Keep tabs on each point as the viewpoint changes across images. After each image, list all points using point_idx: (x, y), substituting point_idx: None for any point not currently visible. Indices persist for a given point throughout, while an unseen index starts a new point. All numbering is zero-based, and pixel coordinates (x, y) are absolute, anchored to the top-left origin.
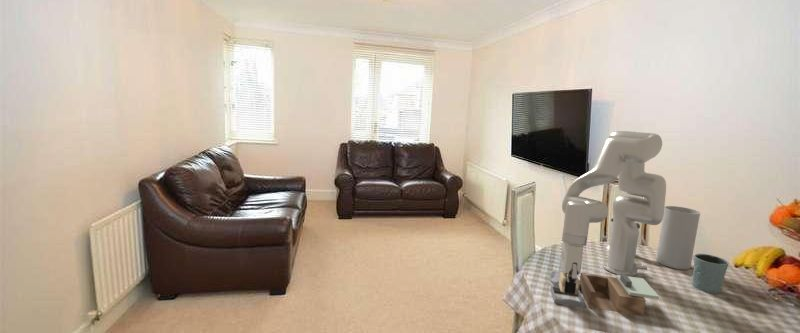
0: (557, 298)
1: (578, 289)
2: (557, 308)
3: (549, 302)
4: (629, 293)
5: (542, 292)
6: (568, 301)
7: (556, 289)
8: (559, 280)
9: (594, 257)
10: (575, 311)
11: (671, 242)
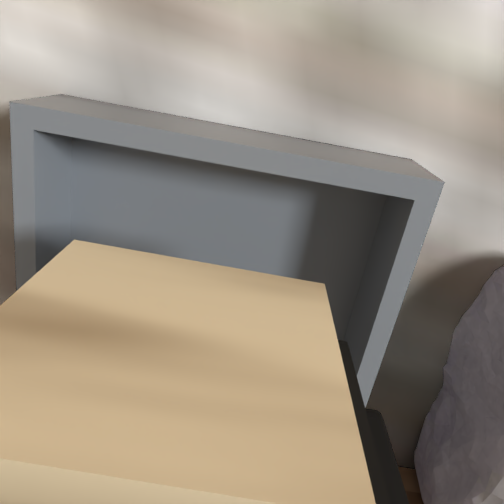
0: (27, 146)
1: (423, 484)
2: (2, 116)
3: (130, 58)
4: None
5: (410, 47)
6: (21, 275)
7: (388, 246)
8: (316, 337)
9: None
10: (9, 293)
11: None
